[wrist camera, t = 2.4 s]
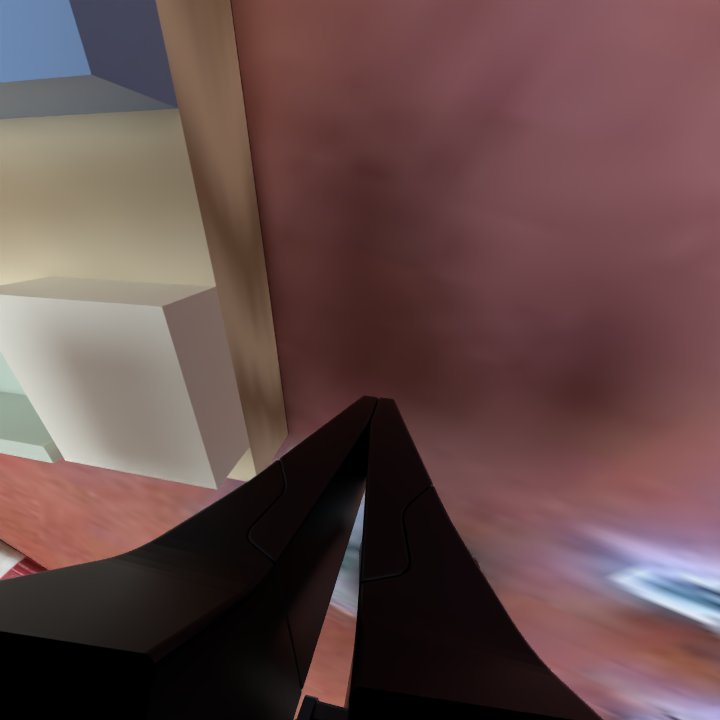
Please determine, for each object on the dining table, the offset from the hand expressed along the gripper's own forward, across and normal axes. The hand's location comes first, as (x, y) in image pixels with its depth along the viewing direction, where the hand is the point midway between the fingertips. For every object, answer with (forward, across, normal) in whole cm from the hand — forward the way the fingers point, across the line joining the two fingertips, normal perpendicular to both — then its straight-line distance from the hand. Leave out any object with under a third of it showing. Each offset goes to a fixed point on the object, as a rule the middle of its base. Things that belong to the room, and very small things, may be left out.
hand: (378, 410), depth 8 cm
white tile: (+1, +8, 0) cm, 8 cm away
